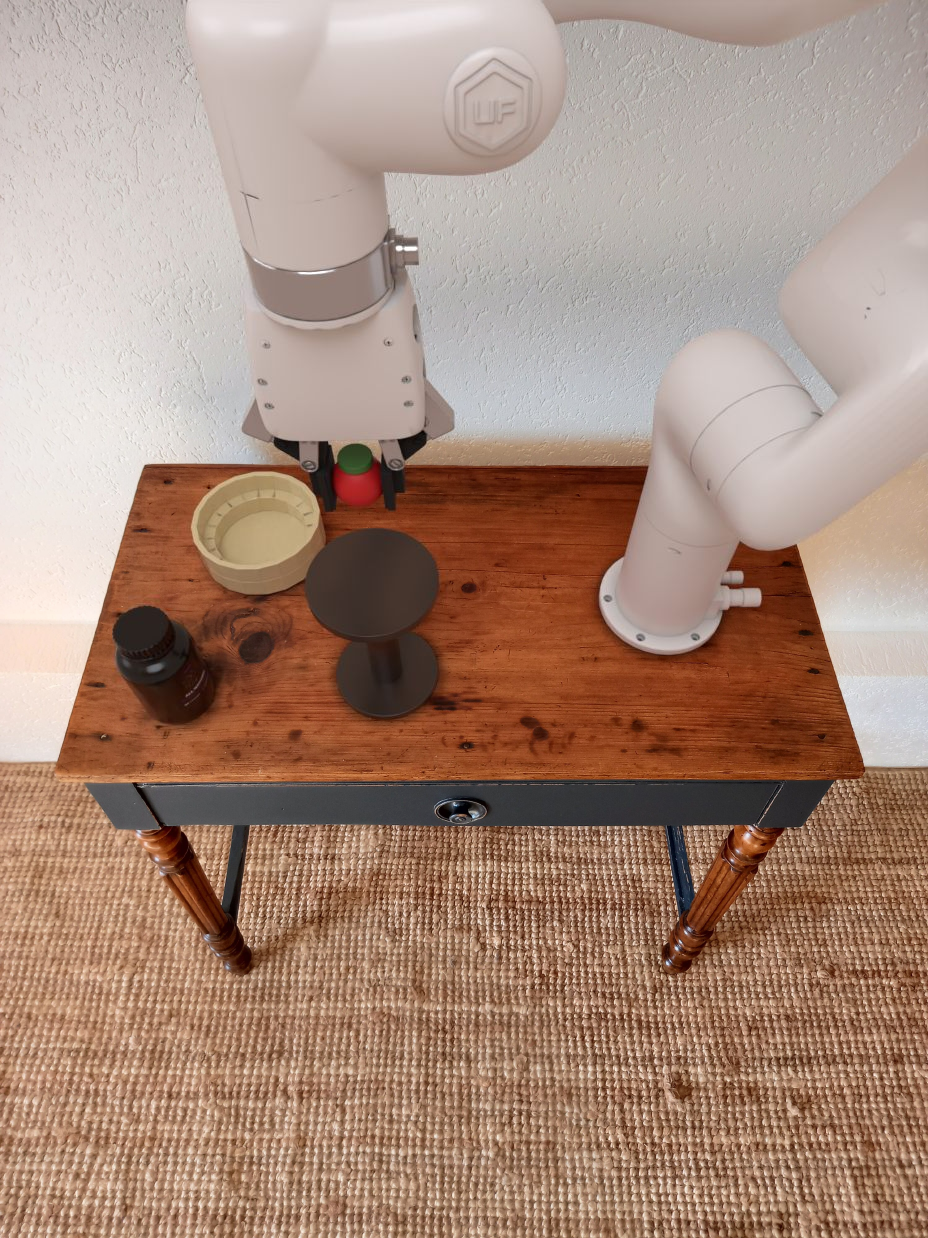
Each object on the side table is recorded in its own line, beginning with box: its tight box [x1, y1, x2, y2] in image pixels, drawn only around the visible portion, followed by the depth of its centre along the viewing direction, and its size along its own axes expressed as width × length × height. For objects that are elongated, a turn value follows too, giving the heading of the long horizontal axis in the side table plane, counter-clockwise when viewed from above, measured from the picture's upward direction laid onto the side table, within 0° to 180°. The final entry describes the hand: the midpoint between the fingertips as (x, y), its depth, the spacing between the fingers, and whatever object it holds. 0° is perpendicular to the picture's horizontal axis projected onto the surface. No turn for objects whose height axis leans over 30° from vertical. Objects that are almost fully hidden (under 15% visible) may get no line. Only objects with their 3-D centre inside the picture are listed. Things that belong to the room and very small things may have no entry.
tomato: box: [332, 442, 383, 508], centre depth 56 cm, size 4×4×4 cm
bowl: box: [190, 471, 327, 595], centre depth 86 cm, size 13×13×5 cm
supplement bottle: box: [111, 605, 216, 725], centre depth 73 cm, size 7×7×12 cm
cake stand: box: [304, 527, 440, 721], centre depth 72 cm, size 11×11×16 cm
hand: (361, 494), depth 57 cm, fingers closed on tomato, 3 cm apart
